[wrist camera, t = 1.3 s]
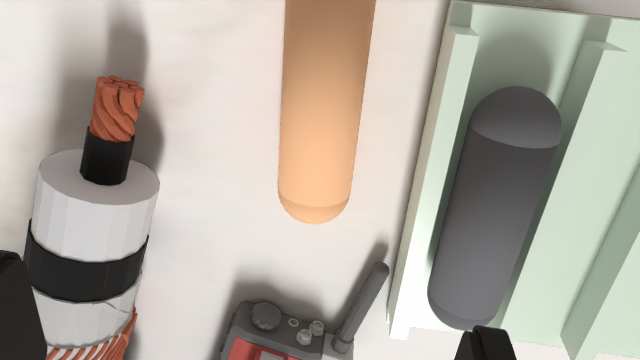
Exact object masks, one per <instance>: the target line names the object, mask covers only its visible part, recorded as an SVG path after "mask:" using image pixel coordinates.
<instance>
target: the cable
mask: <svg viewBox="0 0 640 360" xmlns="http://www.w3.org/2000/svg"><path fill="white" fill-rule="evenodd" d="M143 95H144V89H142V88H141V87H138V83H136V82H134V81H131V80H125V81H124V83H123V79H122V78H120V77H117V76H113V75H112V76H109V77H108V78H106V77H99V78H98V80H97V86H96V91H95V98H94V104H93V113H92V120H91V122H90V126H88V129H87V134H86V139H85V144H84V149H67V150H64V151H60V152H57V153H53V154H50V155H49V156H48V157H46V158H45V159H44V160H43V161H42V162H41V164H40V166H39V169H38V177H37V184H36V192H35V199H34V207H33V214H32V218H31V219H30V220H29V227H28V233H27V239H26V246H25V252H24V256H23V257H22V258H21V260H22V261H24V262H25V264H26V266H27V270H28V274H29V277H30V281H31V285H32V289H33V293H34V297H35V301H36V305H37V309H38V313H39V316H40V320H41V324H42V328H43V332H44V336H45V340H46V344H47V349H48V351H47V356H46V359H45V360H123V356H124V353H125V350H126V347H127V346H128V342H129V338H130V335H131V332H132V329H133V326H134V323H135V321H136V318H137V313H135V310H136V308H135V307H134V302H135V296H136V292H137V289H138V285H139V281H140V277H141V274H142V270H141V265H142V261H143V258H144V254H145V250H146V246H147V243H148V239H149V235H148V231H149V227H150V223H151V219H152V215H153V211H154V208H155V204H156V200H157V196H158V192H159V186H160V181H159V179H158V177H157V175H156V174H155V173H154V172H153V171H152V170H151V169H150V168H149V167H147V166H146V165H145V164H142V163H139V162H136V161H134V160H131V159H130V157H131V152H132V148H133V143H134V137H135V135H134V133H135V127H134V124H135V123H136V121H137V119H138V117H139V112H138V108H139V107H140V106H141V103H142V99H143Z"/></svg>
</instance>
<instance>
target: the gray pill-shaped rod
mask: <svg viewBox="0 0 640 360" xmlns="http://www.w3.org/2000/svg"><path fill="white" fill-rule="evenodd" d="M561 134H562V122H561V118H560V114H559V112H558V110H557V108H556V106H555V105H554V103H553V102H552V101H551V100H550V99H549V98H548V97H547V96H545V95H544V94H543V93H541V92H540V91H537V90H535V89H532V88H529V87H524V86H510V87H505V88H501V89H499V90H496V91H494V92H492V93H490V94H489V95H488V96H486V97H485V98H484V99H482V100H481V101H480V103H479V104H478V105H477V106H476V108H475V109H474V111H473V113H472V115H471V118H470V120H469V124H468V127H467V131H466V135H465V139H464V143H463V147H462V151H461V155H460V159H459V163H458V167H457V171H456V175H455V179H454V183H453V187H452V191H451V195H450V198H449V202H448V206H447V210H446V214H445V218H444V222H443V226H442V230H441V234H440V238H439V242H438V246H437V250H436V254H435V258H434V262H433V265H432V269H431V273H430V277H429V281H428V287H427V297H428V302H429V305H430V307H431V309H432V311H433V313H434V314H435V315H436V316H437V318H438V319H439V320H440V321H441V322H443V323H444V324H446V325H447V326H449V327H451V328H454V329H457V330H461V331H470V330H473V328H474V326H475V325H480V326H485V325H487V324H488V323H489V322H490V321H491V320H492V319H493V318H494V317H495V316H496V314H497V312H498V310H499V308H500V305H501V302H502V299H503V297H504V294H505V291H506V288H507V286H508V283H509V280H510V277H511V275H512V272H513V269H514V266H515V263H516V261H517V258H518V255H519V252H520V250H521V247H522V244H523V241H524V239H525V236H526V233H527V230H528V228H529V225H530V222H531V219H532V217H533V214H534V211H535V208H536V206H537V203H538V200H539V197H540V195H541V192H542V189H543V186H544V184H545V181H546V178H547V175H548V172H549V170H550V167H551V164H552V161H553V159H554V156H555V153H556V150H557V148H558V145H559V142H560V138H561Z"/></svg>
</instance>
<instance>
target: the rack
mask: <svg viewBox="0 0 640 360" xmlns="http://www.w3.org/2000/svg"><path fill="white" fill-rule="evenodd" d="M510 86H524V87H529V88H532V89H535V90H537V91H540V92H541V93H543V94H544V95H545V96H547V97H548V98H549V99H550V100H551V101H552V102H553V103H554V105H555V106H556V108H557V110H558V112H559V114H560V118H561V122H562V134H561V138H560V142H559V145H558V148H557V150H556V153H555V156H554V159H553V161H552V164H551V167H550V170H549V172H548V175H547V178H546V181H545V184H544V186H543V189H542V192H541V195H540V197H539V200H538V203H537V206H536V208H535V211H534V214H533V217H532V219H531V222H530V225H529V228H528V230H527V233H526V236H525V239H524V241H523V244H522V247H521V250H520V252H519V255H518V258H517V261H516V263H515V266H514V269H513V272H512V275H511V277H510V280H509V283H508V286H507V288H506V291H505V294H504V297H503V299H502V302H501V305H500V308H499V310H498V312H497V314H496V316H495V317H494V318H493V319H492V320H491V321H490V322H489V323H488V324H487V325H485V326H487V327H493V328H499V329H505V330H506V331H507V333H508V335H509V338H510V341H511V344H512V343H513V341H518V342H526V343H533V344H540V345H547V346H554V347H561V348H566V350H567V352H568V355H569V357H570V359H571V360H594V358H595V356H596V354H597V353H603V354H610V355H617V356H624V357H631V358H638V359H640V19H639V18H629V17H619V16H609V15H600V14H590V13H580V12H570V11H560V10H550V9H540V8H530V7H520V6H511V5H501V4H491V3H481V2H471V1H461V0H450V4H449V9H448V14H447V18H446V23H445V28H444V33H443V38H442V43H441V48H440V53H439V57H438V62H437V67H436V72H435V77H434V82H433V87H432V92H431V96H430V101H429V106H428V111H427V116H426V121H425V126H424V131H423V135H422V140H421V145H420V150H419V155H418V160H417V165H416V170H415V174H414V179H413V184H412V189H411V194H410V199H409V204H408V209H407V213H406V218H405V223H404V228H403V233H402V238H401V243H400V248H399V252H398V257H397V262H396V267H395V272H394V277H393V282H392V287H391V291H390V296H389V301H388V306H387V311H386V319H387V323H389V330H390V338H396V339H403V340H406V339H407V335H408V330H409V326H413V327H420V328H427V329H434V330H441V331H448V332H455V333H462V334H463V333H464V331H461V330H457V329H454V328H451V327H449V326H447V325H446V324H444V323H443V322H441V321H440V320H439V319H438V318H437V316H436V315H435V314H434V313H433V311H432V309H431V307H430V305H429V302H428V297H427V287H428V281H429V277H430V273H431V269H432V265H433V262H434V258H435V254H436V250H437V246H438V242H439V238H440V234H441V230H442V226H443V222H444V218H445V214H446V210H447V206H448V202H449V198H450V195H451V191H452V187H453V183H454V179H455V175H456V171H457V167H458V163H459V159H460V155H461V151H462V147H463V143H464V139H465V135H466V131H467V127H468V124H469V120H470V118H471V115H472V113H473V111H474V109H475V108H476V106H477V105H478V104H479V103H480V101H481V100H482V99H484V98H485V97H486V96H488V95H489V94H490V93H492V92H494V91H496V90H499V89H501V88H505V87H510ZM470 331H471V332H472V330H470Z"/></svg>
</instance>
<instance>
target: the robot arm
mask: <svg viewBox="0 0 640 360" xmlns="http://www.w3.org/2000/svg"><path fill="white" fill-rule="evenodd" d="M47 351H48V349H47V344H46V340H45V336H44V332H43V328H42V324H41V320H40V316H39V313H38V309H37V305H36V301H35V297H34V293H33V289H32V285H31V281H30V277H29V274H28V270H27V266H26V264H25V262H24V261H22V260H21V258H20V256H19V255H18V254H17V253H15V252H10V251H4V250H0V360H45V359H46V356H47ZM454 360H517V359H516V356H515V353H514V350H513V347H512V344H511V341H510V338H509V335H508V333H507V331H506V330H505V329H499V328H493V327H487V326H480V325H475V326H474V328H473V330H472V332H471V331H464V333H463V335H462V338H461V341H460V344H459V347H458V350H457V353H456V356H455V359H454Z"/></svg>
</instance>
